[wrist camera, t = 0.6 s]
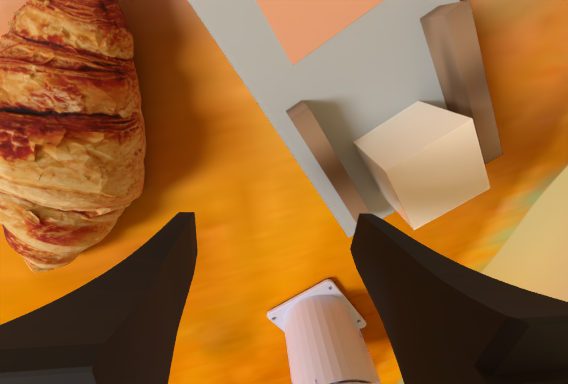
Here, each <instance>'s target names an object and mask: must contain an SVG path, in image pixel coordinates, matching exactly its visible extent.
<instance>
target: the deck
mask: <svg viewBox="0 0 568 384" xmlns="http://www.w3.org/2000/svg"><path fill="white" fill-rule="evenodd" d="M188 1H189V3H190V4H191V6H192V7H193V9H194V10H195V12H196V13H197V15H198V16H199V17H200V19H201V20H202V22H203V23H204V25H205V26H206V28H207V29H208V31H209V32H210V34H211V35H212V37H213V38H214V40H215V41H216V43H217V44H218V46H219V47H220V48H221V50H222V51H223V53H224V54H225V56H226V57H227V59H228V60H229V62H230V63H231V65H232V66H233V68H234V69H235V71H236V72H237V74H238V75H239V76H240V78H241V79H242V81H243V82H244V84H245V85H246V87H247V88H248V90H249V91H250V93H251V94H252V96H253V97H254V99H255V100H256V102H257V103H258V104H259V106H260V107H261V109H262V110H263V112H264V113H265V115H266V116H267V118H268V119H269V121H270V122H271V124H272V125H273V127H274V128H275V130H276V131H277V133H278V134H279V135H280V137H281V138H282V140H283V141H284V143H285V144H286V146H287V147H288V149H289V150H290V152H291V153H292V155H293V156H294V158H295V159H296V161H297V162H298V163H299V165H300V166H301V168H302V169H303V171H304V172H305V174H306V175H307V177H308V178H309V180H310V181H311V183H312V184H313V186H314V187H315V189H316V190H317V191H318V193H319V194H320V196H321V197H322V199H323V200H324V202H325V203H326V205H327V206H328V208H329V209H330V211H331V212H332V214H333V215H334V217H335V218H336V220H337V221H338V222H339V224H340V225H341V227H342V228H343V230H344V231H345V233H346V234H347V236H348V237H351V236H353V235H354V232H355V228H356V224H357V223H356V222H355V220H354V219H353V217H352V216H351V214H350V212H349V211H348V209H347V208H346V206H345V204H344V203H343V201H342V200H341V198H340V197H339V195H338V193H337V192H336V190H335V189H334V187H333V186H332V184H331V182H330V181H329V179H328V178H327V176H326V174H325V173H324V171H323V170H322V168H321V167H320V165H319V163H318V162H317V160H316V159H315V157H314V155H313V154H312V152H311V151H310V149H309V148H308V146H307V144H306V143H305V141H304V140H303V138H302V137H301V135H300V133H299V132H298V130H297V129H296V127H295V125H294V124H293V122H292V121H291V119H290V117H289V116H288V114H287V113H286V110H288V109H289V108H291V107H292V106H294V105H295V104H296V103H298V102H299V101H301V100H302V101H303V102H304V103H305V104H306V105H307V106H308V107H309V108H310V110H311V112H312V113H313V115H314V117H315V119H316V120H317V122H318V124H319V125H320V127H321V129H322V131H323V132H324V134H325V136H326V138H327V139H328V141H329V143H330V144H331V146H332V148H333V150H334V151H335V153H336V155H337V156H338V158H339V160H340V162H341V163H342V165H343V167H344V168H345V170H346V172H347V174H348V175H349V177H350V179H351V181H352V182H353V184H354V186H355V187H356V189H357V191H358V193H359V194H360V196H361V198H362V199H363V201H364V203H365V205H366V206H367V208H368V210H369V211H370V213H372V214H374V215H376V216H378V217H380V218H381V219H383V218H384V217H386V216H388V215H390V214H391V213H393V212H395V211H396V210H395V209H394V208H393V206H392V205H391V204H390V203H389V202H388V201H387V200H386V199H385V198H384V197H383V195H382V194H381V193H380V192H379V190H378V188H377V186H376V184H375V183H374V181H373V179H372V177H371V175H370V173H369V171H368V169H367V167H366V166H365V164H364V162H363V160H362V158H361V156H360V154H359V152H358V151H357V149H356V147H355V145H354V143H353V142H354V141H356V140H357V139H359V138H360V137H362V136H364V135H365V134H367V133H368V132H370V131H371V130H373V129H375V128H376V127H378V126H379V125H381V124H382V123H384V122H386V121H387V120H389V119H390V118H392V117H393V116H395V115H397V114H398V113H400V112H401V111H403V110H404V109H406V108H408V107H409V106H411V105H412V104H414V103H416V102H417V101H421V102H424V103H427V104H430V105H433V106H436V107H439V108H442V109H445V110H447V107H446V103H445V100H444V97H443V94H442V90H441V87H440V84H439V81H438V77H437V74H436V71H435V68H434V64H433V61H432V58H431V55H430V51H429V48H428V45H427V42H426V38H425V35H424V32H423V29H422V25H421V22H420V18H421V17H423V16H424V15H426V14H427V13H429V12H430V11H432V10H433V9H434V8H436V7H437V6H440V5H445V4H450V3H455V2H460V0H188Z"/></svg>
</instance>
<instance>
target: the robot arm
mask: <svg viewBox="0 0 568 384" xmlns="http://www.w3.org/2000/svg"><path fill="white" fill-rule="evenodd" d="M350 250H351V253H352V256H353V259H354V262H355V265H356V268H357V270H358V272H359V274H360V276H361V278H362V281H363V283H364V285H365V287H366V289H367V291H368V293H369V295H370V297H371V299H372V300H373V302H374V304H375V306H376V308H377V310H378V313H379V315H380V317H381V319H382V321H383V324H384V327H385V329H386V332H387V334H388V337H389V340H390V342H391V345H392V348H393V351H394V354H395V357H396V360H397V362H398V365H399V368H400V371H401V375H402V378H403V381H404V384H568V302H565V301H562V300H559V299H555V298H552V297H548V296H545V295H541V294H538V293H535V292H531V291H528V290H525V289H522V288H519V287H516V286H513V285H510V284H508V283H505V282H502V281H499V280H497V279H494V278H491V277H489V276H486V275H484V274H482V273H479V272H477V271H474V270H472V269H470V268H467V267H465V266H463V265H461V264H459V263H457V262H455V261H453V260H451V259H449V258H447V257H444V256H443V255H441V254H439V253H437V252H435V251H433V250H432V249H430V248H428V247H426V246H425V245H423V244H421V243H419V242H418V241H416V240H414V239H413V238H411V237H410V236H408V235H406V234H405V233H403V232H402V231H400V230H399V229H397V228H395V227H394V226H392V225H391V224H389V223H388V222H386V221H384V220H383V219H381V218H380V217H378V216H376V215H374V214H372V213H359V216H358V220H357V224H356V228H355V232H354V236H353V240H352V244H351V248H350ZM196 258H197V239H196V226H195V213H194V212H179V213H178V214H177V215H176V216H174V217H173V218H172V219H171V220H170V221H169V222H168V223H167V224H166V225H165V226H164V227H163V228H162V229H161V230H160V231H159V232H157V233H156V234H155V235H154V236H153V237H152V238H151V239H150V240H149V241H147V242H146V243H145V244H144V245H143V246H141V247H140V248H139V249H138V250H136V251H135V252H134V253H133V254H131V255H130V256H129V257H127V258H126V259H125V260H123V261H122V262H120V263H119V264H117V265H116V266H114V267H113V268H111V269H110V270H108V271H107V272H105V273H104V274H102V275H100V276H99V277H97V278H95V279H94V280H92V281H90V282H88V283H87V284H85V285H83V286H82V287H80V288H78V289H76V290H75V291H73V292H71V293H69V294H67V295H65V296H63V297H61V298H59V299H57V300H55V301H53V302H51V303H49V304H47V305H45V306H43V307H41V308H39V309H36V310H34V311H32V312H30V313H28V314H25V315H23V316H21V317H18V318H16V319H14V320H11V321H9V322H7V323H4V324H2V325H0V384H168V379H169V373H170V368H171V362H172V357H173V351H174V346H175V341H176V335H177V331H178V327H179V323H180V319H181V316H182V313H183V309H184V306H185V302H186V299H187V296H188V292H189V289H190V285H191V282H192V278H193V275H194V270H195V264H196ZM330 286H331V287H330ZM267 317H268V318H269V319H270V320H271V321H272V322H273V323H274V324H275V325H277V326H278V327H279V328H280V329H281V330H282V331H283V332H285V337H286V344H287V351H288V358H289V365H290V372H291V379H292V384H381V383H380V379H379V376H378V374H377V371H376V369H375V366H374V364H373V361H372V359H371V356H370V354H369V351H368V349H367V346H366V344H365V341H364V339H363V336H362V334H361V331H360V329H361V328H363V327H365V326H366V322H365V320H364V319H363V318H362V316H361V315H360V314H359V313H358V312H357V310H356V309H355V308H354V307H353V305H352V304H351V303H350V302H349V301H348V299H347V298H346V297H345V296H344V294H343V293H342V292H341V291H340V290H339V288H338V287H337V286H336V285H335V283H334V282H333V281H332V280H331V279H326V280H324V281H323V282H321V283H319V284H317V285H315V286H313V287H312V288H310V289H308V290H306V291H304V292H303V293H301V294H299V295H297V296H295V297H293V298H292V299H290V300H288V301H286V302H284V303H283V304H281V305H279V306H277V307H275V308H273V309H272V310H270V311H268V312H267Z"/></svg>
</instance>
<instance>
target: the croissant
mask: <svg viewBox="0 0 568 384" xmlns="http://www.w3.org/2000/svg"><path fill="white" fill-rule="evenodd" d="M14 13H15V15H14V17H13V18H12V20H10V21H9V22H8V25H9V33H7V34H5V35H2V36H1V39H0V223H1V224H3V228H4V234H5V237H6V240H7V242H8V244H9V245H10V246H11V247H12V248H13V249H14V250H15V251H16V252H17V253H18V254H20V255H21V256H22V257H23V259H24V260H25V262H26V264H27V265H28V267H29V268H30V269H31V271H32V272H43V271H50V270H52V269H54V268H56V267H62V266H65V265H67V264H69V263H71V262H72V261H73V260H74V259H75V258H77V256H78V255H79V253H80V252H81V251H83V250H85V249H87V248H88V247H90V246H93V245H95V244H97V243H99V242H100V241H101V240H102V239H103V238H104V237H105V236H106V235H107V234H108V233H109V232H110V231H111V229H112V228H113V227H114V225H115V224H116V222H117V220H118V217H119V216H120V215H121V214H122V212H123V211H124V209H125V208H126V207H128V206H129V205H130V204H131V202H132V200H134V199H137V198H139V196H140V195H141V194H142V192H143V190H144V177H145V172H144V163H143V160H144V157H145V152H146V138H145V124H144V118H143V116H142V111H141V95H140V89H139V82H138V77H137V73H136V68H135V65H134V62H133V59H132V57H133V55H134V41H133V36H132V34H131V32H130V30H129V27H128V24H127V21H126V19H125V17H124V14H123V12H122V10H121V7H120V5H119V3H118V1H117V0H28V1H27V2H26V5H23V6H22V7H21V8H20V9H19V10H18V11H16V12H14Z"/></svg>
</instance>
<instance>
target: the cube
mask: <svg viewBox="0 0 568 384" xmlns="http://www.w3.org/2000/svg"><path fill="white" fill-rule="evenodd" d="M353 143H354V145H355V147H356V149H357V151H358V152H359V154H360V156H361V158H362V160H363V162H364V164H365V166H366V167H367V169H368V171H369V173H370V175H371V177H372V179H373V181H374V183H375V184H376V186H377V188H378V190H379V192H380V193H381V194H382V195H383V197H384V198H385V199H386V200H387V201H388V202H389V203H390V204H391V205H392V206H393V208H394V209H395V210H396V211H397V212H398V213H399V214H400V215H401V216H402V217H403V219H404V220H405V221H406V222H407V223H408V224H409V225H410V226H411V227H412V228H413V230H416V229H417V228H419V227H421V226H423V225H425V224H426V223H428V222H430V221H432V220H434V219H436V218H437V217H439V216H441V215H443V214H445V213H446V212H448V211H450V210H452V209H454V208H456V207H457V206H459V205H461V204H463V203H465V202H466V201H468V200H470V199H472V198H474V197H475V196H477V195H479V194H481V193H483V192H485V191H486V190H488V189H490V188H491V187H490V184H489V180H488V176H487V172H486V168H485V165H484V161H483V157H482V153H481V149H480V145H479V142H478V138H477V134H476V130H475V126H474V123H473V119H472V118H469V117H466V116H463V115H460V114H457V113H454V112H451V111H448V110H445V109H442V108H439V107H436V106H433V105H430V104H427V103H424V102H421V101H417V102H416V103H414V104H412V105H411V106H409V107H408V108H406V109H404V110H403V111H401V112H400V113H398V114H397V115H395V116H393V117H392V118H390V119H389V120H387V121H386V122H384V123H382V124H381V125H379V126H378V127H376V128H375V129H373V130H371V131H370V132H368V133H367V134H365V135H364V136H362V137H360V138H359V139H357V140H356V141H354V142H353Z"/></svg>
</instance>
